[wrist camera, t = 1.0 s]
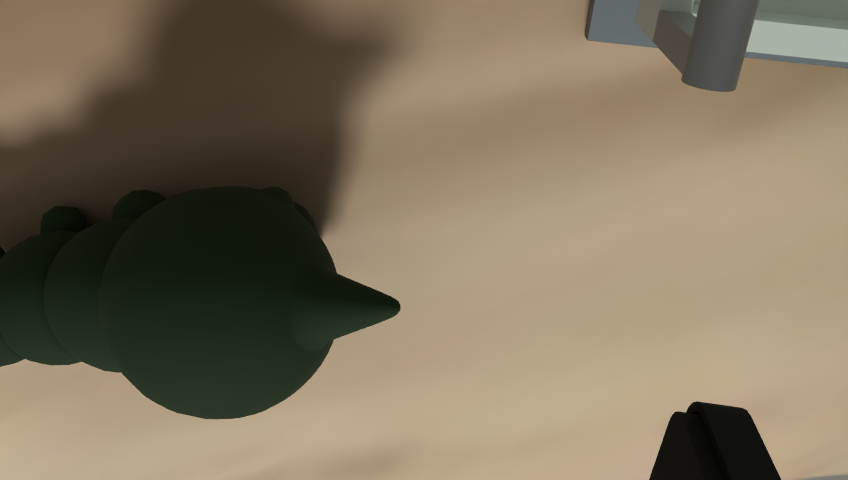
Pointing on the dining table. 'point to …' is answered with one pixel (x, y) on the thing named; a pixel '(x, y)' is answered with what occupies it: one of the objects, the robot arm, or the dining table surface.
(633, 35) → the track
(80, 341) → the toy figurine
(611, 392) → the dining table surface
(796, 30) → the shallow sage tray
